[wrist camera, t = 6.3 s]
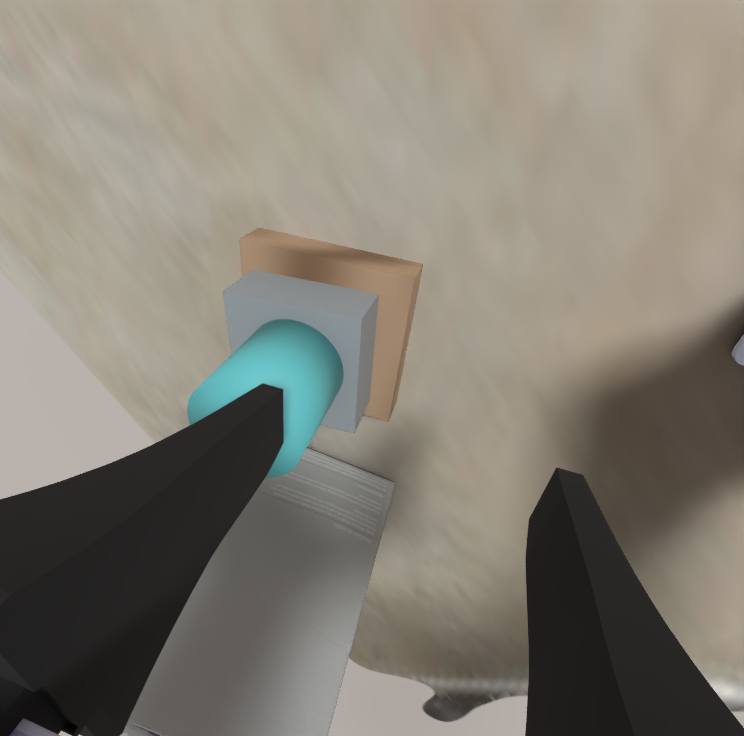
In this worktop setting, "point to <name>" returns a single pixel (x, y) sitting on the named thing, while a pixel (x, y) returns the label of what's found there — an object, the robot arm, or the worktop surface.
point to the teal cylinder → (279, 382)
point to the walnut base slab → (355, 272)
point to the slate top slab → (322, 312)
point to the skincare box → (272, 611)
